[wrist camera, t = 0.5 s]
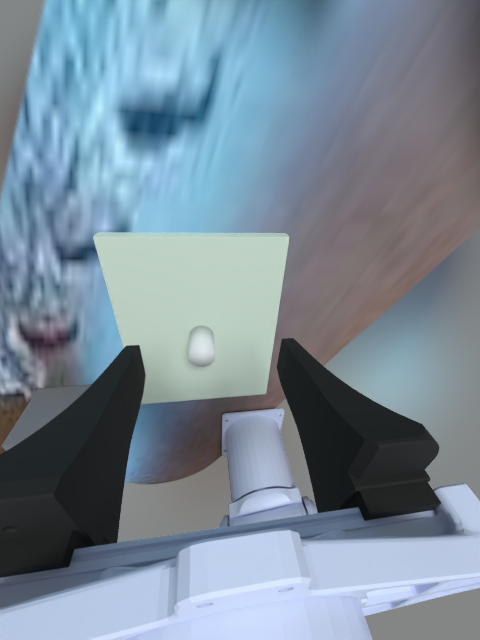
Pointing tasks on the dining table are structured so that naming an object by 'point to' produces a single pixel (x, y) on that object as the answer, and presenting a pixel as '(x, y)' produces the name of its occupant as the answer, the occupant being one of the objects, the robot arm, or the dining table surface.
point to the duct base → (196, 308)
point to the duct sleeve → (42, 411)
